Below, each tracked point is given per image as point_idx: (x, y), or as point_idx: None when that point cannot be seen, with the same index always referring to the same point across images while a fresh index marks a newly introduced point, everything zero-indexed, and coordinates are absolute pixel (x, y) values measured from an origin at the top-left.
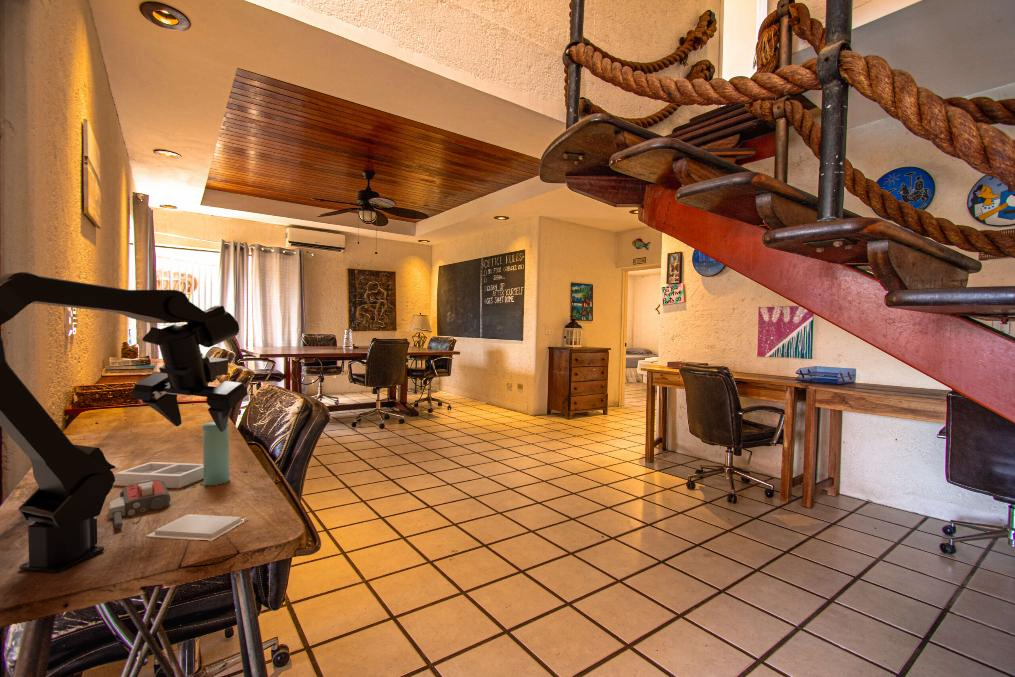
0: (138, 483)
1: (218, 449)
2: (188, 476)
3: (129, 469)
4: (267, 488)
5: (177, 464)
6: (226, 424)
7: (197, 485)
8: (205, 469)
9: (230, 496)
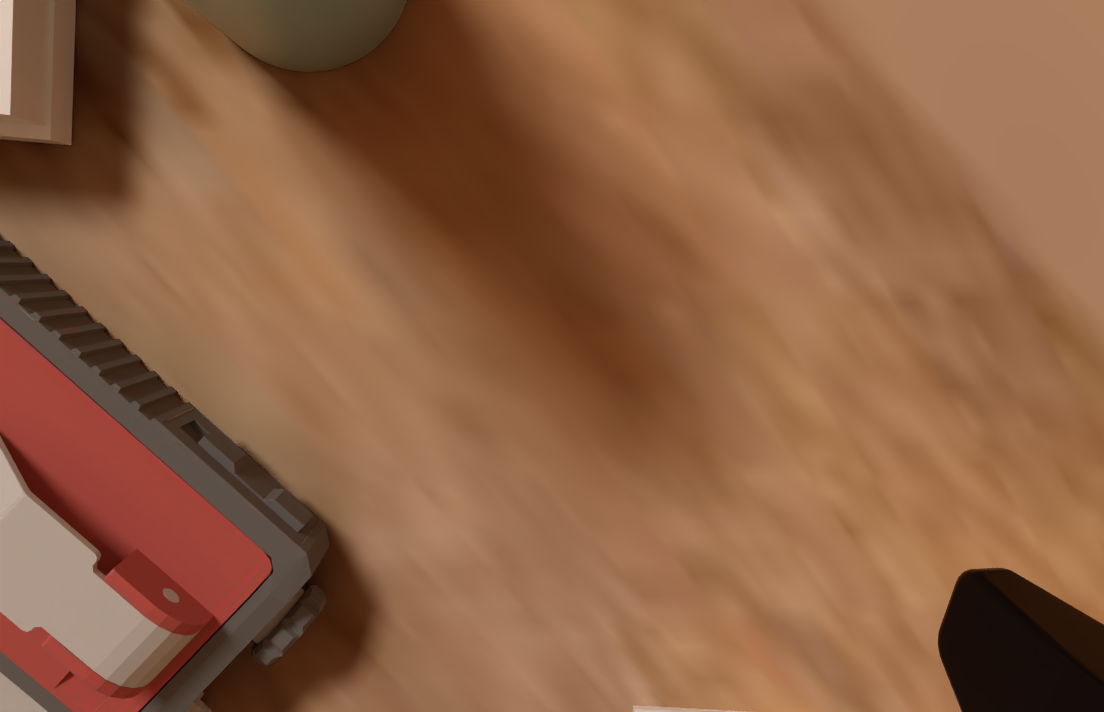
0: None
1: None
2: (33, 12)
3: None
4: (888, 118)
5: None
6: (1101, 637)
7: (182, 58)
8: (224, 25)
9: (684, 317)
